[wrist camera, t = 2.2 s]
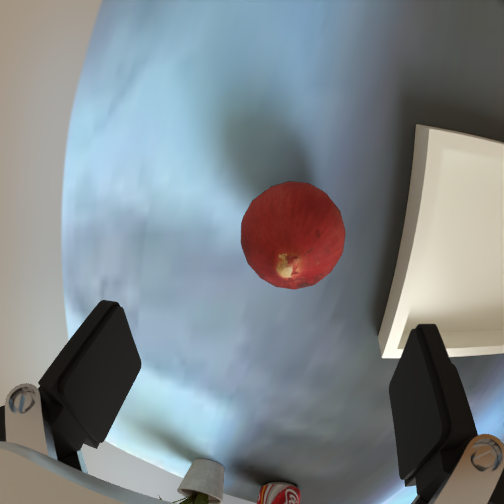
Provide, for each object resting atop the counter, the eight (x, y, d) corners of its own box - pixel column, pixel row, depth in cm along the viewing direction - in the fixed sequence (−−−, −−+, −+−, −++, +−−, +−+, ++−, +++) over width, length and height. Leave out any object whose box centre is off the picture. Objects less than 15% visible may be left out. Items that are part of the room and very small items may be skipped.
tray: (579, 167, 14) (597, 176, 12) (525, 333, 22) (534, 349, 20) (415, 123, 17) (429, 128, 15) (377, 336, 25) (381, 358, 23)
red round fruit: (348, 240, 21) (362, 313, 14) (268, 258, 23) (249, 334, 16) (326, 158, 19) (336, 198, 12) (240, 183, 21) (203, 233, 14)
